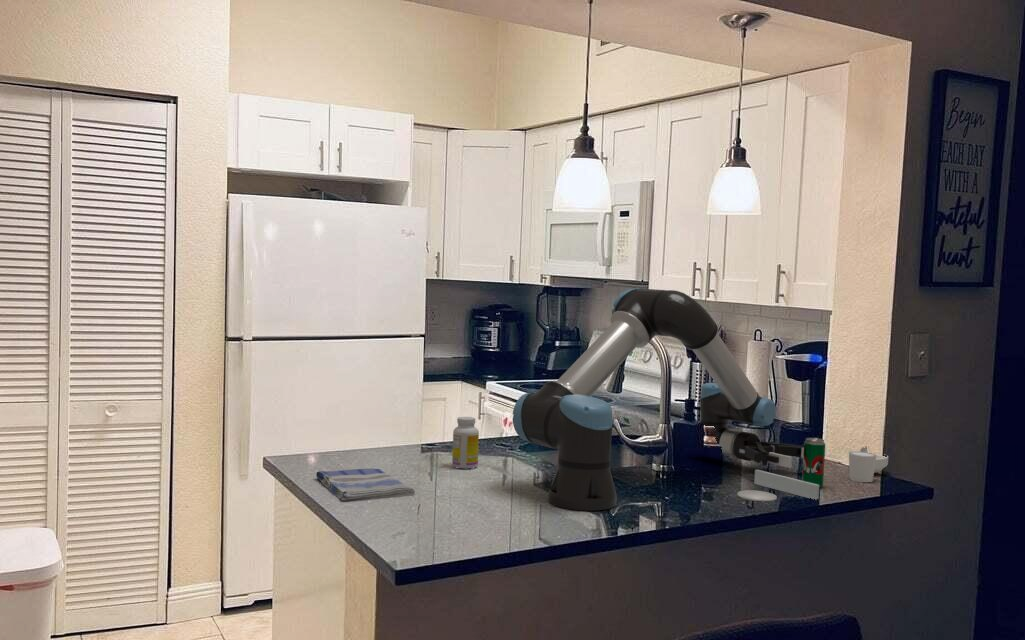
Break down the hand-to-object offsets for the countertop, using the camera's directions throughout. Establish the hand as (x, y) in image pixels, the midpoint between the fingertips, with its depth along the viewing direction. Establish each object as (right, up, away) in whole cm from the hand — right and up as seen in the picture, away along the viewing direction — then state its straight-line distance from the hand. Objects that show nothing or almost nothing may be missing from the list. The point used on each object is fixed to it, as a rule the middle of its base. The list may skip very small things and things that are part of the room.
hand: (807, 460), depth 222 cm
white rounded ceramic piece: (+22, -6, +18) cm, 30 cm away
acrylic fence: (-8, -6, -8) cm, 13 cm away
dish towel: (-109, -4, -19) cm, 111 cm away
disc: (-17, -6, -14) cm, 23 cm away
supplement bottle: (-87, -3, +6) cm, 88 cm away
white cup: (+17, -7, +8) cm, 19 cm away
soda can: (+1, -7, -2) cm, 7 cm away
